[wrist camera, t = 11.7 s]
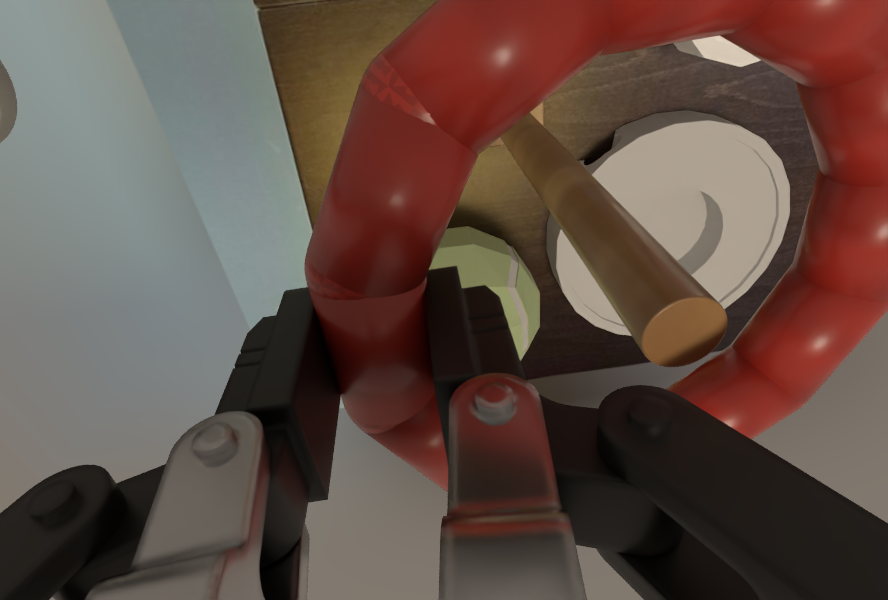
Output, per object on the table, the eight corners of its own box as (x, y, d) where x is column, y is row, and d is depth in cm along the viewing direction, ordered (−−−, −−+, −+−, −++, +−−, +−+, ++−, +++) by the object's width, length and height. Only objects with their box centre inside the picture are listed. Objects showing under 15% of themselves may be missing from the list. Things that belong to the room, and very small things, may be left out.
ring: (381, 507, 15) (391, 580, 13) (216, -55, 8) (186, -66, 6) (796, 395, 17) (857, 447, 15) (977, -154, 9) (1140, -188, 8)
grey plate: (531, 317, 60) (540, 338, 56) (565, 106, 48) (579, 116, 44) (722, 315, 62) (741, 335, 59) (801, 113, 50) (831, 123, 46)
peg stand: (434, 149, 49) (513, 479, 17) (419, 30, 43) (494, 186, 12) (539, 135, 49) (814, 434, 17) (537, 14, 43) (932, 124, 12)
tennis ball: (517, 196, 52) (558, 268, 39) (519, 319, 60) (554, 413, 47) (367, 213, 51) (359, 292, 39) (389, 336, 59) (389, 434, 47)
